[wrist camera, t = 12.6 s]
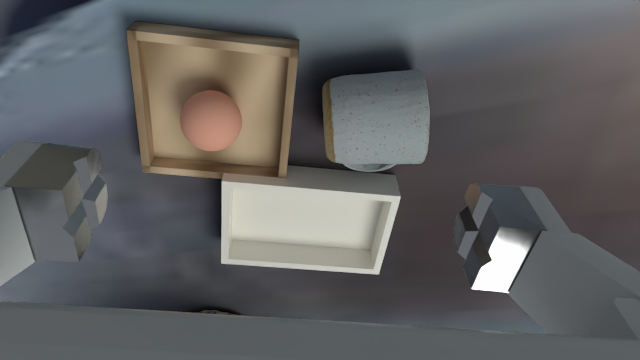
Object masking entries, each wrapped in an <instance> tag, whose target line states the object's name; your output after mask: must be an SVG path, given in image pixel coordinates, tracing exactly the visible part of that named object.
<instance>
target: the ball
mask: <svg viewBox="0 0 640 360" xmlns="http://www.w3.org/2000/svg"><path fill="white" fill-rule="evenodd" d="M180 126H181V130H182V132H183V134H184V136H185V138H186V139H187V140H188V141H189V142H190V143H191V144H192V145H194V146H195V147H197V148H199V149H201V150H205V151H219V150H222V149H225V148H227V147H228V146H230V145H231V144H232V143H233V142H234V141H235V140H236V139H237V137H238V136H239V134H240V131H241V127H242V116H241V112H240V110H239V108H238V106H237V104H236V103H235V102H234V101H233V100H232V99H231V98H230V97H229V96H228V95H226V94H224V93H222V92H219V91H213V90H206V91H202V92H199V93H196V94H195V95H193V96H192V97H190V98H189V99H188V100H187V101H186V103H185V104H184V106H183V108H182V110H181V114H180Z"/></svg>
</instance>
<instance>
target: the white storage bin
mask: <svg viewBox="0 0 640 360" xmlns="http://www.w3.org/2000/svg"><path fill="white" fill-rule="evenodd" d="M226 164H227V163H226ZM229 165H230V164H229ZM235 165H236V164H235ZM227 166H228V165H227ZM231 166H232V165H231ZM245 166H246V165H245ZM245 166H244V168H245ZM250 166H251V165H250ZM228 167H230V166H228ZM228 167H227V168H228ZM234 167H236V166H234ZM234 167H233V168H234ZM239 167H240V166H239ZM254 167H255V166H254ZM261 167H263V166H261ZM233 168H232V169H233ZM237 168H238V167H237ZM241 168H242V167H241ZM248 168H249V167H248ZM251 168H252V166H251ZM258 168H259V167H258ZM267 168H269V169H271V168H270V167H267ZM239 169H240V168H239ZM254 169H256V167H255V168H254ZM260 169H261V168H260ZM263 169H264V168H263ZM263 169H262V170H263ZM269 169H268V170H269ZM278 169H279V168H278ZM278 169H277V170H278ZM227 170H228V169H227ZM234 170H235V169H234ZM243 170H244V169H243ZM249 170H250V169H249ZM257 170H258V169H257ZM264 170H265V169H264ZM274 170H275V169H274ZM225 171H226V169H225ZM238 171H239V170H238ZM266 171H267V170H266ZM269 171H270V170H269ZM271 171H272V170H271ZM231 172H233V171H231ZM255 172H256V170H255V171H254V173H255ZM233 173H234V172H233ZM246 173H247V172H246ZM252 173H253V172H252ZM257 174H258V173H257ZM261 174H262V173H261ZM266 174H268V173H266ZM275 174H276V173H275ZM277 175H278V174H277ZM267 176H268V175H267ZM270 176H271V175H270ZM400 198H401V195H400V192H399V188H398V184H397V180H396V177H395V175H390V174H379V173H368V172H357V171H346V170H335V169H324V168H313V167H302V166H290V165H287V172H286V178H277V177H265V176H259V175H258V176H257V175H256V176H255V175H242V172H241V174H231V173H224V174H223V178H222V226H221V263H222V264H237V265H251V266H265V267H279V268H294V269H308V270H322V271H337V272H351V273H365V274H379V272H380V268H381V265H382V261H383V258H384V254H385V251H386V247H387V244H388V240H389V237H390V233H391V230H392V226H393V223H394V219H395V215H396V212H397V208H398V205H399V201H400Z"/></svg>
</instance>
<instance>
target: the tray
mask: <svg viewBox="0 0 640 360" xmlns="http://www.w3.org/2000/svg"><path fill="white" fill-rule="evenodd" d="M126 32H127V41H128V49H129V58H130V67H131V75H132V84H133V93H134V101H135V110H136V119H137V127H138V136H139V145H140V153H141V162H142V171H143V172H148V173H159V174H171V175H182V176H194V177H206V178H217V179H222V178H223V174H224V173H231V174H241V172H242V175H255V176H256V175H257V176H258V175H259V176H265V177H277V178H286V172H287V163H288V153H289V143H290V133H291V123H292V113H293V103H294V93H295V84H296V74H297V64H298V54H299V40H294V39H286V38H277V37H268V36H260V35H251V34H242V33H234V32H225V31H216V30H208V29H199V28H190V27H182V26H173V25H164V24H156V23H147V22H138V21H135V22H134V23H133V24H132V25H131V26H130V27H129V28H128V29H127V30H126ZM206 90H213V91H219V92H222V93H224V94H226V95H228V96H229V97H230V98H231V99H232V100H233V101H234V102H235V103H236V104H237V106H238V108H239V110H240V112H241V116H242V127H241V131H240V134H239V136H238V137H237V139H236V140H235V141H234V142H233V143H232V144H231V145H230V146H228V147H227V148H225V149H222V150H219V151H205V150H201V149H199V148H197V147H195V146H194V145H192V144H191V143H190V142H189V141H188V140H187V139H186V138H185V136H184V134H183V132H182V130H181V126H180V114H181V110H182V108H183V106H184V104H185V103H186V101H187V100H188V99H189V98H190V97H192V96H193V95H195V94H196V93H199V92H202V91H206ZM226 163H227V164H226ZM229 164H230V165H229ZM235 164H236V165H235ZM227 165H228V166H230V167H228V166H227ZM231 165H232V166H231ZM245 165H246V166H245ZM250 165H251V166H252V168H251V166H250ZM234 166H236V167H234ZM239 166H240V167H239ZM244 166H245V168H244ZM254 166H255V167H256V169H254V168H255V167H254ZM261 166H263V167H261ZM227 167H228V168H227ZM233 167H234V168H233ZM237 167H238V168H237ZM241 167H242V168H241ZM248 167H249V168H248ZM258 167H259V168H258ZM267 167H270V168H271V169H269V168H267ZM232 168H233V169H232ZM239 168H240V169H239ZM260 168H261V169H260ZM263 168H264V169H265V170H264V169H263ZM278 168H279V169H278ZM225 169H226V171H225ZM227 169H228V170H227ZM234 169H235V170H234ZM243 169H244V170H243ZM249 169H250V170H249ZM257 169H258V170H257ZM262 169H263V170H262ZM268 169H269V170H270V171H269V170H268ZM274 169H275V170H274ZM277 169H278V170H277ZM238 170H239V171H238ZM255 170H256V172H255V173H254V171H255ZM266 170H267V171H266ZM271 170H272V171H271ZM231 171H233V172H234V173H233V172H231ZM246 172H247V173H246ZM252 172H253V173H252ZM257 173H258V174H257ZM261 173H262V174H261ZM266 173H268V174H266ZM275 173H276V174H275ZM277 174H278V175H277ZM267 175H268V176H267ZM270 175H271V176H270Z"/></svg>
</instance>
